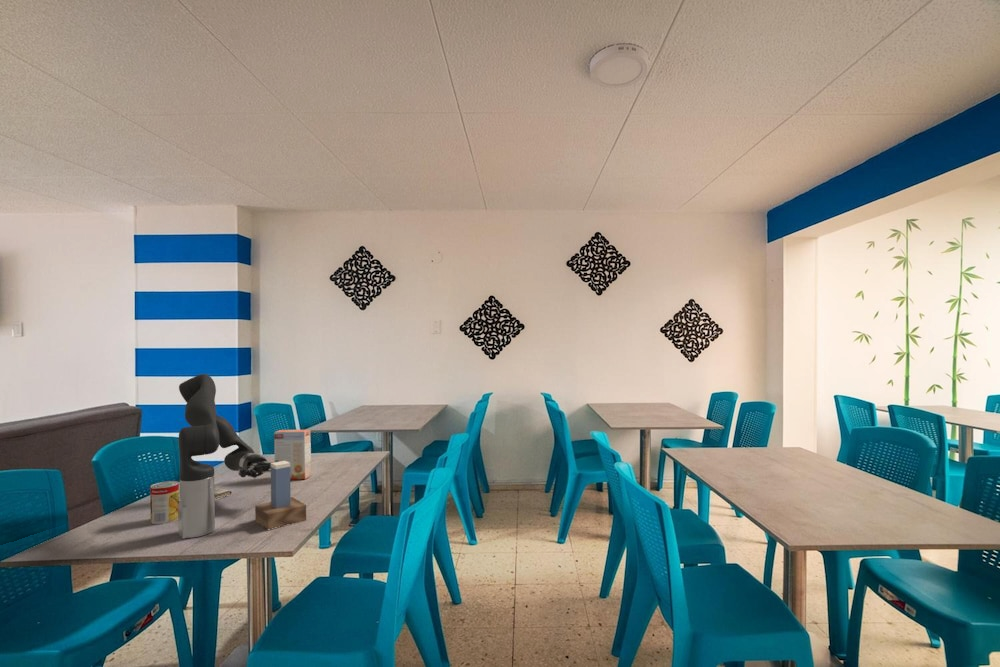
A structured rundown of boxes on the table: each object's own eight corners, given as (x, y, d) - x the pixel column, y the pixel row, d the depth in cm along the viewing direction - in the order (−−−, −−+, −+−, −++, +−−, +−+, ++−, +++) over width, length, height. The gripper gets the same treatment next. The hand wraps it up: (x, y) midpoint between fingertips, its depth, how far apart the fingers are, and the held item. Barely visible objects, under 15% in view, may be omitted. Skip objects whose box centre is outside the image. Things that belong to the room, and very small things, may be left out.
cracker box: (311, 476, 212) (311, 429, 213) (304, 480, 206) (304, 431, 207) (281, 475, 214) (281, 429, 214) (274, 479, 208) (273, 431, 208)
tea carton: (276, 508, 156) (275, 465, 156) (271, 505, 159) (270, 463, 160) (290, 505, 159) (290, 462, 160) (285, 502, 163) (284, 460, 163)
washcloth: (165, 507, 176) (165, 498, 176) (212, 492, 193) (212, 485, 193) (186, 511, 171) (186, 502, 171) (232, 496, 188) (232, 488, 188)
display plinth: (268, 530, 151) (268, 514, 151) (255, 520, 159) (255, 505, 159) (306, 520, 159) (306, 504, 159) (292, 511, 168) (291, 497, 168)
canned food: (181, 514, 167) (181, 479, 167) (175, 522, 159) (175, 486, 159) (154, 517, 164) (154, 482, 164) (147, 525, 156) (147, 489, 157)
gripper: (232, 457, 174) (246, 465, 162) (273, 451, 184) (289, 457, 172) (232, 478, 174) (246, 487, 162) (273, 470, 184) (289, 478, 172)
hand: (268, 472), depth 167 cm, fingers open, 8 cm apart
